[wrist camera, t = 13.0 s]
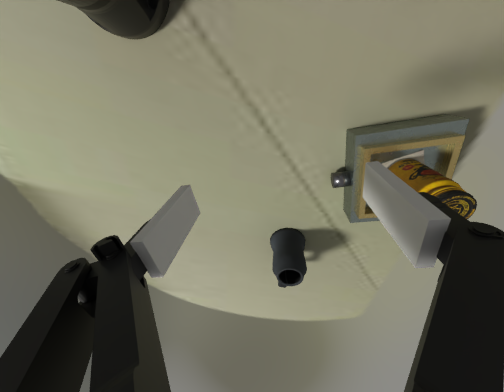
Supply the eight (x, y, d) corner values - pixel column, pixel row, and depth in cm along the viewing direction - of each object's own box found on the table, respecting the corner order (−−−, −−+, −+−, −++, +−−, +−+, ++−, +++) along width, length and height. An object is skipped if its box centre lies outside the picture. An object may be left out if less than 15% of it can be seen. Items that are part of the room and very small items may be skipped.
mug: (273, 224, 50) (273, 259, 41) (309, 231, 50) (317, 267, 40) (265, 257, 56) (262, 294, 47) (297, 264, 56) (301, 302, 47)
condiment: (423, 149, 33) (490, 180, 23) (425, 191, 37) (484, 235, 26) (375, 164, 35) (416, 199, 25) (382, 203, 39) (420, 247, 28)
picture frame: (329, 132, 38) (339, 140, 32) (445, 114, 35) (478, 120, 29) (329, 210, 46) (337, 228, 41) (422, 202, 43) (444, 220, 37)
